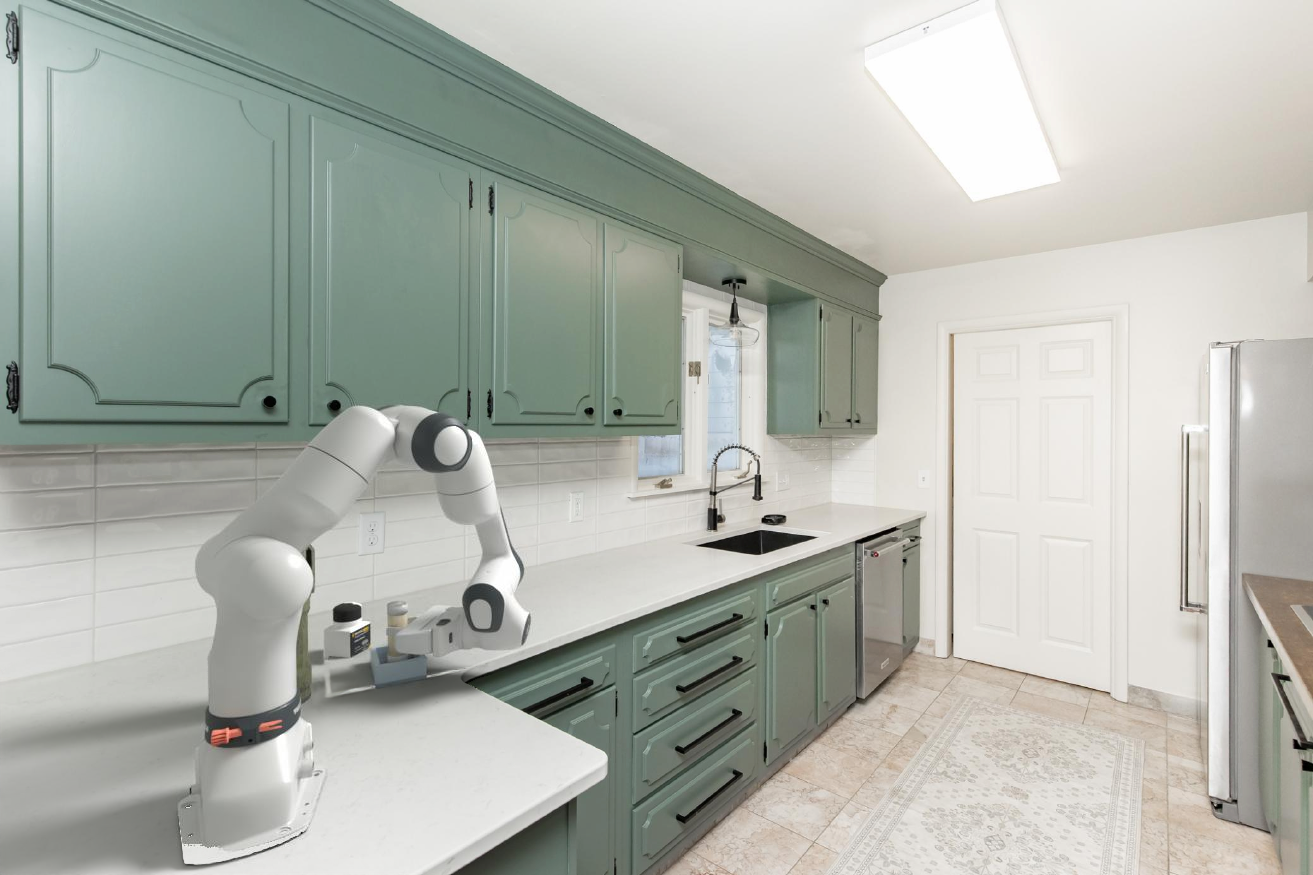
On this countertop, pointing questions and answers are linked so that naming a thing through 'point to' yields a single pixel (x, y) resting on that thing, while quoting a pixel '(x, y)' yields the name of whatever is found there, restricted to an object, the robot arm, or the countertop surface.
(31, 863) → the countertop surface
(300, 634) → the thermos
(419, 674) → the parts tray
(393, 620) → the fuse
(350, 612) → the medicine bottle
